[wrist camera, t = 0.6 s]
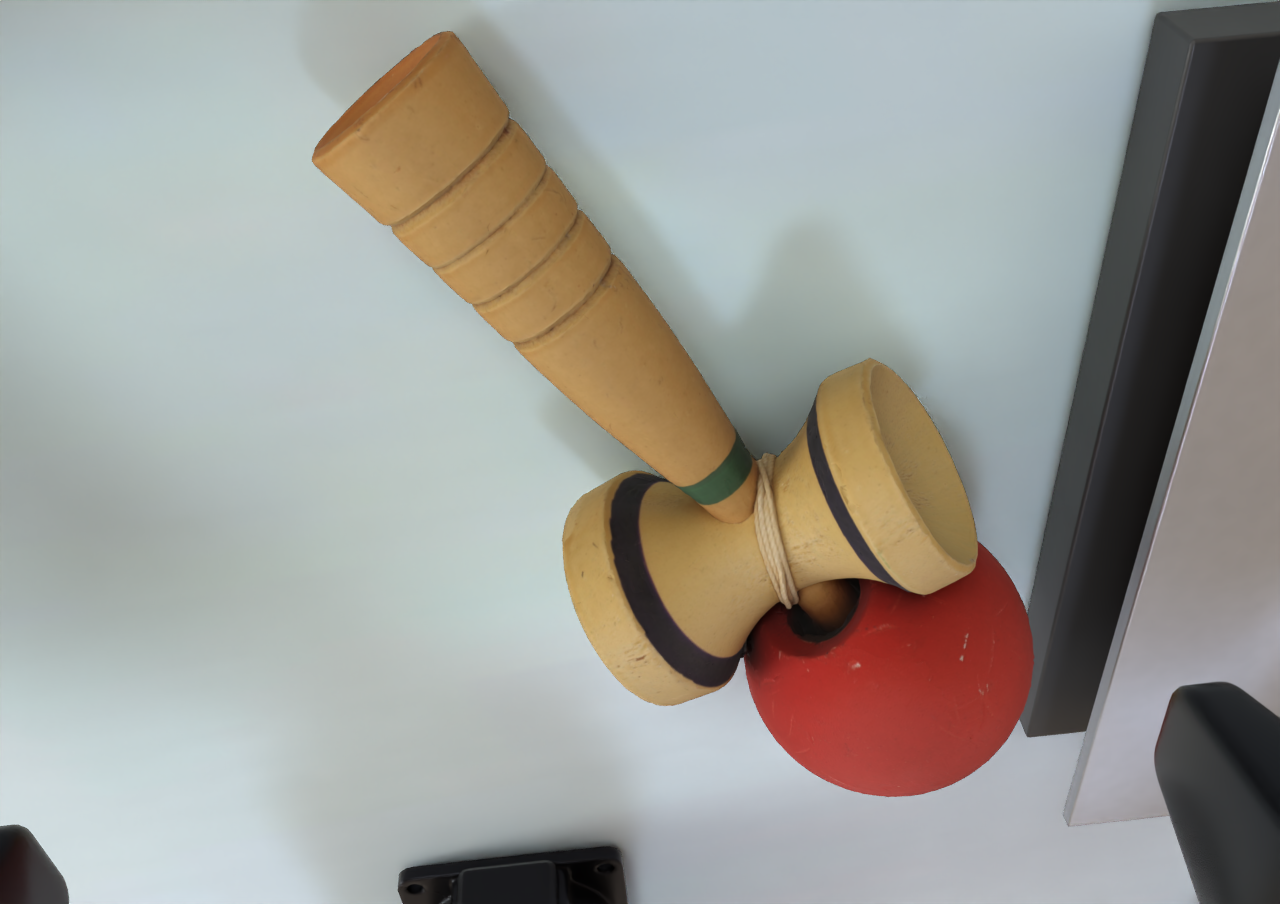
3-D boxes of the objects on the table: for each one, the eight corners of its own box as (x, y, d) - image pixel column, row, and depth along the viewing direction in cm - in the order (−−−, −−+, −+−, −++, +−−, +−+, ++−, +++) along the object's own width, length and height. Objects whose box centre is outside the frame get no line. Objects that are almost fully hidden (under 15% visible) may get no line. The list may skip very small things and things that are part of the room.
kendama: (229, 204, 22) (780, 741, 29) (147, 317, 16) (854, 945, 24) (542, -83, 20) (1036, 559, 28) (572, -69, 15) (1181, 731, 22)
